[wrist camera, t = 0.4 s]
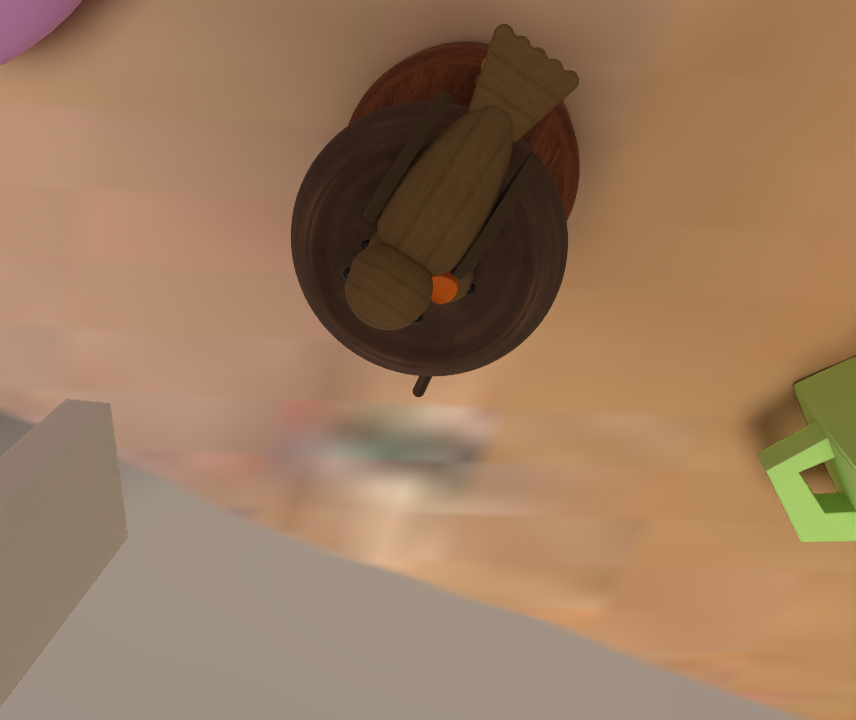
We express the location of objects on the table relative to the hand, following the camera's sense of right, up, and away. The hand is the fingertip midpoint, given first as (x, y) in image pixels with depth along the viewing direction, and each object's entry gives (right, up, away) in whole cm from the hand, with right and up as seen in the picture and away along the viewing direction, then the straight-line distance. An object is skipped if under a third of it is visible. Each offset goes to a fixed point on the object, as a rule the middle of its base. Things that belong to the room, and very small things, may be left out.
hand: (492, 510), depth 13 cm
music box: (+1, +11, +25) cm, 28 cm away
